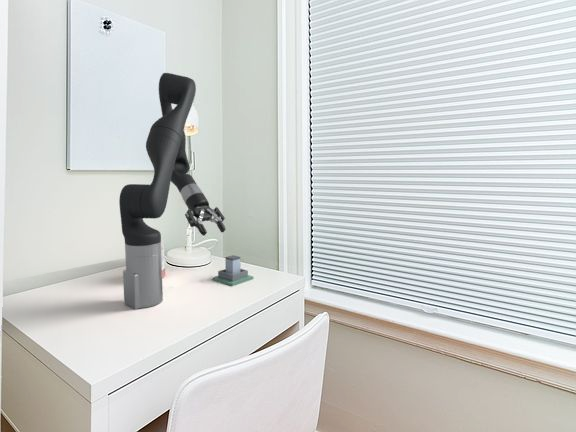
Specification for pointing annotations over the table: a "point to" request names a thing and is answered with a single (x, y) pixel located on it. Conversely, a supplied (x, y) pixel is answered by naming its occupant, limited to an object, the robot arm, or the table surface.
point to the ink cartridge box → (162, 257)
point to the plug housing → (232, 264)
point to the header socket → (232, 277)
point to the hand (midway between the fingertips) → (214, 232)
